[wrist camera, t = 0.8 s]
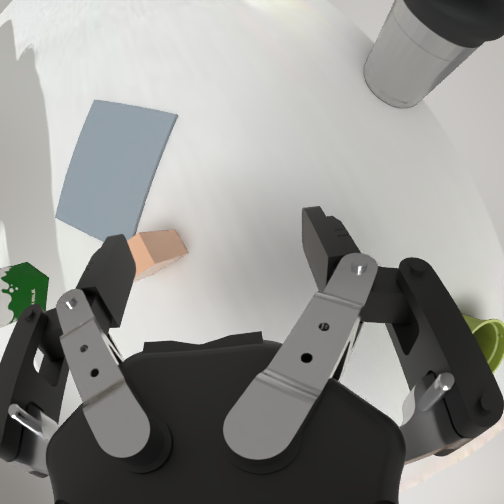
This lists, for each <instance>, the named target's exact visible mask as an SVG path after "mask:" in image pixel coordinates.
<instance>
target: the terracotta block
mask: <svg viewBox="0 0 504 504" xmlns="http://www.w3.org/2000/svg"><path fill="white" fill-rule="evenodd" d="M127 243H128V245H129V248H130V250H131V253H132V255H133V258H134V260H135V264H136V275H135V278H134V281H133V282H136V281H138V280H141V279H143V278H146V277H148V276H151V275H153V274H155V273H157V272H158V271H160V270H161V269H163V268H165V267H166V266H168V265H170V264H171V263H173V262H175V261H176V260H178V259H180V258H181V257H183V256H185V255H186V254H188V252H187V250H186V248H185V246H184V244H183V242H182V240H181V239H180V237H179V235H178V233H177V231H176V230H165V231H153V232H142V233H138V234H136V235H135V236H133V237H132V238H131V239H129V240H128V241H127Z"/></svg>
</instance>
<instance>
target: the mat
mask: <svg viewBox="0 0 504 504" xmlns="http://www.w3.org/2000/svg"><path fill="white" fill-rule="evenodd" d="M177 117H178V115H177V114H172V113H168V112H163V111H158V110H154V109H149V108H143V107H138V106H132V105H127V104H121V103H114V102H108V101H100V100H94V102H93V104H92V106H91V109H90V111H89V113H88V116H87V118H86V120H85V123H84V125H83V128H82V131H81V133H80V136H79V138H78V141H77V144H76V147H75V150H74V153H73V155H72V158H71V161H70V165H69V168H68V171H67V174H66V178H65V181H64V185H63V188H62V192H61V196H60V199H59V203H58V207H57V212H56V216H55V218H57V219H59V220H61V221H63V222H65V223H67V224H69V225H71V226H73V227H75V228H77V229H79V230H81V231H83V232H85V233H87V234H89V235H91V236H93V237H95V238H97V239H99V240H101V241H103V242H104V241H105V239H106V238H107V237H108V236H113V235H118V234H123V235H124V236H125V238H126V240H127V241H128V240H129V239H131V238H132V237H133V236H135V233H136V230H137V227H138V223H139V220H140V217H141V214H142V210H143V207H144V204H145V201H146V198H147V195H148V192H149V189H150V186H151V183H152V181H153V178H154V175H155V172H156V169H157V167H158V164H159V161H160V159H161V156H162V153H163V151H164V148H165V146H166V143H167V141H168V138H169V136H170V133H171V131H172V129H173V126H174V124H175V121H176V119H177Z"/></svg>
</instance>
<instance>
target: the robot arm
mask: <svg viewBox="0 0 504 504" xmlns="http://www.w3.org/2000/svg"><path fill="white" fill-rule="evenodd" d="M503 35H504V0H395V1H394V3H393V6H392V8H391V10H390V12H389V14H388V17H387V19H386V21H385V23H384V25H383V27H382V29H381V32H380V34H379V36H378V38H377V40H376V42H375V44H374V47H373V49H372V50H371V53H370V55H369V57H368V59H367V61H366V63H365V67H364V76H365V80H366V82H367V84H368V86H369V88H370V89H371V91H372V92H373V93H374V94H375V95H376V96H377V97H378V98H380V99H381V100H382V101H384V102H386V103H387V104H389V105H392V106H395V107H400V108H408V107H412V106H414V105H416V104H417V103H418V102H420V101H421V100H422V99H423V98H424V97H425V96H426V95H427V94H428V93H430V92H431V91H432V90H433V89H434V88H435V87H436V86H437V85H438V84H439V83H441V81H443V80H444V79H445V78H446V77H447V76H448V75H449V74H450V73H451V72H453V71H454V70H455V69H456V68H457V67H458V66H459V65H460V64H461V63H462V62H463V61H465V60H466V59H467V58H468V57H469V56H470V55H471V54H472V53H473V52H474V51H475V50H476V49H477V48H478V47H479V46H481V45H482V44H483V43H484V42H485V41H492V40H496V39H498V38H500V37H502V36H503ZM302 243H303V249H304V252H305V255H306V258H307V260H308V263H309V266H310V268H311V271H312V273H313V276H314V279H315V282H316V284H317V287H318V290H319V291H317V292H316V293H315V294H314V296H313V298H312V299H311V301H310V302H309V304H308V306H307V307H306V309H305V311H304V312H303V314H302V315H301V317H300V318H299V320H298V322H297V323H296V325H295V326H294V328H293V329H292V331H291V333H290V334H289V336H288V337H287V339H286V340H285V342H284V343H283V344H281V343H278V342H274V341H268V340H263V338H262V331H260V332H252V333H244V334H236V335H230V336H227V337H224V338H221V339H217V340H214V341H211V342H208V343H205V344H200V345H198V344H190V343H183V342H177V341H158V342H144V348H143V351H142V352H139V353H137V354H134V355H132V356H130V357H129V358H127V359H126V360H124V358H123V356H122V354H121V353H120V351H119V349H118V348H117V346H116V344H115V342H114V340H113V339H112V337H111V335H110V334H109V328H118V327H120V325H121V321H122V317H123V314H124V310H125V307H126V304H127V300H128V297H129V294H130V290H131V287H132V284H133V281H134V278H135V275H136V264H135V260H134V258H133V255H132V253H131V250H130V248H129V245H128V243H127V240H126V238H125V236H124V235H123V234H118V235H113V236H108V237H107V238H106V239H105V241H104V243H103V245H102V247H101V248H99V249H98V250H97V251H96V252H95V253H94V254H93V256H92V257H91V259H90V261H89V263H88V265H87V267H86V269H85V271H84V273H83V275H82V276H81V278H80V281H79V283H78V285H77V287H76V289H73V290H70V291H68V292H66V293H65V294H63V295H62V296H61V297H60V299H59V300H58V302H57V305H56V308H54V309H51V310H48V311H46V312H45V311H44V310H43V309H42V307H41V306H40V305H39V304H33V305H30V306H29V307H27V308H26V309H25V310H24V311H23V312H22V313H21V315H20V317H19V319H18V321H17V323H16V325H15V328H14V330H13V332H12V335H11V337H10V339H9V342H8V344H7V347H6V349H5V352H4V355H3V357H2V360H1V363H0V458H1V459H2V460H4V461H5V462H7V463H9V464H11V465H13V466H15V467H17V468H19V469H21V470H23V471H25V472H29V473H31V474H33V475H35V476H38V477H41V478H45V477H47V476H48V475H49V476H50V479H51V484H52V489H53V494H54V502H55V504H399V502H398V494H399V484H400V479H401V474H402V470H403V467H404V465H406V464H409V463H412V462H415V461H417V460H420V459H423V458H425V457H428V456H430V455H433V454H434V455H436V456H446V455H448V454H450V453H452V452H454V451H455V450H457V449H459V448H460V447H462V446H464V445H465V444H467V443H468V442H470V441H471V440H473V439H474V438H476V437H477V436H479V435H480V434H482V433H483V432H485V431H486V430H488V429H489V428H490V427H492V426H493V425H494V424H496V423H497V422H498V421H499V419H500V418H501V416H502V414H503V410H504V400H503V396H502V394H501V391H500V389H499V387H498V384H497V382H496V380H495V377H494V375H493V373H492V371H491V369H490V367H489V364H488V362H487V360H486V358H485V356H484V354H483V352H482V350H481V348H480V346H479V344H478V343H477V341H476V339H475V337H474V335H473V333H472V331H471V330H470V328H469V326H468V324H467V322H466V321H465V319H464V317H463V315H462V314H461V312H460V310H459V309H458V307H457V305H456V304H455V302H454V300H453V299H452V297H451V296H450V294H449V292H448V291H447V289H446V288H445V286H444V285H443V283H442V281H441V280H440V278H439V277H438V275H437V274H436V272H435V271H434V270H433V268H432V267H431V265H430V264H428V263H427V262H426V261H424V260H422V259H419V258H413V257H411V258H406V259H404V260H402V261H401V262H400V265H399V268H386V267H380V266H378V265H377V262H376V261H375V260H374V259H373V258H372V257H370V256H368V255H366V254H362V253H361V252H360V251H359V249H358V247H357V246H356V244H355V243H354V241H353V239H352V238H351V236H349V233H348V232H347V230H346V229H345V227H344V225H343V224H342V222H341V221H339V220H338V219H336V218H335V217H333V216H327V217H326V216H325V214H324V212H323V211H322V209H321V207H320V206H316V207H307V208H303V209H302ZM364 322H375V323H385V325H386V327H387V330H388V332H389V335H390V337H391V340H392V342H393V345H394V347H395V350H396V353H397V355H398V358H399V361H400V363H401V366H402V369H403V372H404V375H405V377H406V380H407V383H408V386H409V389H410V393H409V394H408V396H407V397H406V398H405V400H404V402H403V406H402V412H403V422H402V425H401V426H400V427H398V425H397V424H396V423H395V422H394V421H393V420H392V419H391V418H390V417H388V416H387V415H385V414H384V413H383V412H381V411H380V410H378V409H377V408H375V407H374V406H372V405H371V404H369V403H368V402H366V401H365V400H364V399H362V398H361V397H359V396H358V395H356V394H355V393H354V392H352V391H351V390H349V389H348V388H347V387H345V386H344V385H342V384H341V383H340V380H341V378H342V375H343V373H344V371H345V368H346V366H347V363H348V361H349V358H350V356H351V353H352V351H353V349H354V347H355V344H356V342H357V340H358V337H359V335H360V332H361V330H362V327H363V325H364ZM37 348H39V350H40V351H41V352H42V353H43V354H44V357H43V360H42V364H41V367H40V370H39V373H38V372H37V371H36V370H35V368H34V364H33V361H34V357H35V354H36V351H37ZM69 368H70V371H71V374H72V376H73V379H74V381H75V384H76V387H77V389H78V391H79V394H80V397H81V398H82V401H83V403H82V404H81V405H80V406H79V407H78V408H77V409H76V410H75V411H74V412H73V413H72V415H71V416H70V417H69V418H68V419H67V420H66V421H65V422H64V423H63V424H62V425H61V426H60V427H58V422H59V416H60V410H61V405H62V400H63V395H64V390H65V385H66V381H67V377H68V372H69Z"/></svg>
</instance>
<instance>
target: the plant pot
mask: <svg viewBox="0 0 504 504" xmlns="http://www.w3.org/2000/svg"><path fill="white" fill-rule="evenodd" d="M462 315H463V314H462ZM463 317H464V319H465V321H466V322H467V324H468V326H469V328H470V330H471V331H472V333H473V335H474V337H475V339H476V341H477V343H478V344H479V346H480V348H481V350H482V352H483V354H484V356H485V358H486V360H487V362H488V364H489V367H490V369H491V371H492V373H494V372H495V371H496V369H497V368H498V367H499V365H500V363H501V362H502V360H503V357H504V323H503V322H502V321H500V320H498V319H489V320H480V319H477V318H473V317H470V316H466V315H463Z"/></svg>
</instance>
